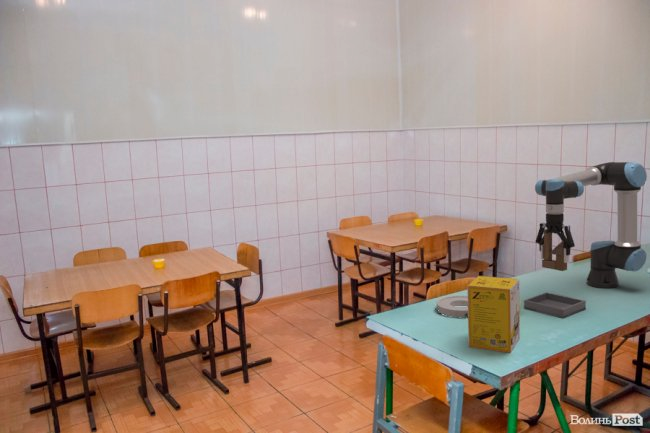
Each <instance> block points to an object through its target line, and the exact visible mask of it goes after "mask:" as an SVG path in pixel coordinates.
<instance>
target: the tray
mask: <svg viewBox="0 0 650 433" xmlns="http://www.w3.org/2000/svg"><path fill="white" fill-rule="evenodd" d="M586 305H587V301H586V300H583V299H580V298H579V299H578V298H575V297H570V296H565V295H560V294H556V293H552V292H543V293H541V294H537V295H535V296H533V297H529V298H527V299H524V300H523V308H524V310H529V311H533V312H536V313H541V314H545V315H548V316H552V317H557V318H560V319H566V318H568V317H570V316H572V315H575V314H578V313H581V312H583V311H585V310H586Z"/></svg>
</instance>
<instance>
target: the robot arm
mask: <svg viewBox="0 0 650 433" xmlns="http://www.w3.org/2000/svg"><path fill="white" fill-rule="evenodd" d="M647 177H648V176H647V171H646V168H645V167H644V166H643V165H642V164H641V163H639V162H632V161H631V162H630V161H623V162H621V161H620V162H619V161H618V162H617V161H615V162H614V161H610V162H605V163H599V164H596V165H593V166H590V167H587V168H586V169H585V170H583V171H578V172H575V173H571V174H567V175H564V176H563V175H562V176H559V177H555V178H549V179H542V180H541V179H540V180H538V181H537V182H536V183H535V186H534V191H535V192H536V194H537V195H538V196H542V197H545V212H546V213H545V222H541V223H539V228H538V233H537V234H536V239H535V240H534V241H535V244H538V245H539V246H538V248H539V249H538V250H539V252H540V259H541V260H544V229H547V230H546V233H547V234H548V233H549V232H550V233H552V234H554V235H557V236H559V239H560V240H561V242H562V241H563V240H564V246H565V247H566V248H564V263H566V262H567V263H569V262H570V255H571V249H572V248H575V246H576V245H575V242H574V239H573V236H572V235H573V234H572V232H571V225H565V224H564V221H565V220H564V216H565V215H564V212H565V211H564V210H565V209H564V208H565V205H564V201H565V200H566V199H572V198H574V199H575V198H577V197H581V196H583V194H584V191H585V187H586V186H587V187H588V186H593V187H594V186H599V185H602V186H605V185H606V186H613V191H614V192H615V193H616V194H617V195H616V196H617V198H616V199H617V240H616V241H614V240H600V241H593V242H592V243H591V244H590V250H589V251H590V270H589V273H588V275H587V278H586V284H587V285H588V286H590V287H593V288H599V289H611V288H612V289H613V288H617V287H619V286H620V285H619V283H620V282H619V281H620V280H619V278H618V275H617V272H616V269H619V270H623V271H627V272H638V271H640V270H641V269H642V268H643V267H644V265H645V264H646V260H647V253H646V250H644V249H642V248H641V247H642V244H641V242H639V241H638V193H639V192H640V191H641V189H642V188H641V187H643V186H644V185H645V184H646V182H647V180H648V179H647Z"/></svg>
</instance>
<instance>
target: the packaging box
mask: <svg viewBox="0 0 650 433" xmlns="http://www.w3.org/2000/svg"><path fill="white" fill-rule="evenodd" d="M466 287H467V289H466V290H467V296H468V316H467V327H468V328H467V331H468V333H467V334H468V335H467V337H468V347H469V348H474V347H475V348H476V349H481V348H482V349H481V350H488V351H496V352H500V353H501V352H503V353H509V354H512V352H513V350H514V348H515V347H516V345H518V344H517V343H518V342H519V340H520V339H521V338H520V337H521V333H520V330H521V328H520V324H521V323H520V322H521V318H520V317H521V316H520V312H521V311H520V306H521V305H520V278H510V277H498V276H497V277H496V276H488V275H487V276H486V275H478V276H477V277H476V278H474V279H473V280H472V281H471V282H470V283H469V284H467V285H466Z"/></svg>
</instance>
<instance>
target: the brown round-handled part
mask: <svg viewBox="0 0 650 433" xmlns="http://www.w3.org/2000/svg"><path fill="white" fill-rule="evenodd" d="M546 230H547V228H545V229H544V233H543V236H544V259H541V260H542V261H541V268H544V269H550V270H555V271H559V272H560V271H561V272H565V271H568V262H566V263H564V248H566V247H565V246H564V240H563V241H562V240H561V241H560V243H558V244H557V245H556V246H555V247H554V248H553V233H550V232H549V233H548V234H547V233H546ZM553 255H555V259H553Z"/></svg>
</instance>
